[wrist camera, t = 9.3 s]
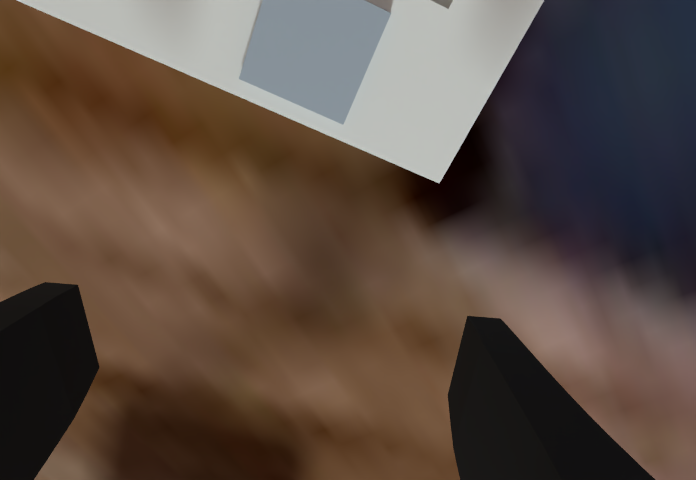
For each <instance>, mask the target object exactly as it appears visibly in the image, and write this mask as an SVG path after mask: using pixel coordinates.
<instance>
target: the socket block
mask: <svg viewBox="0 0 696 480" xmlns="http://www.w3.org/2000/svg"><path fill="white" fill-rule="evenodd" d="M17 1H19V2H22V3H24V4H26V5H29V6H31V7H33V8H36V9H38V10H40V11H42V12H45V13H47V14H49V15H52V16H54V17H56V18H59V19H61V20H63V21H66V22H68V23H70V24H72V25H75V26H77V27H79V28H82V29H84V30H86V31H89V32H91V33H93V34H96V35H98V36H100V37H102V38H105V39H107V40H109V41H112V42H114V43H116V44H119V45H121V46H123V47H126V48H128V49H130V50H132V51H135V52H137V53H139V54H142V55H144V56H146V57H149V58H151V59H153V60H156V61H158V62H160V63H162V64H165V65H167V66H169V67H172V68H174V69H176V70H179V71H181V72H183V73H186V74H188V75H190V76H192V77H195V78H197V79H199V80H202V81H204V82H206V83H209V84H211V85H213V86H216V87H218V88H220V89H222V90H225V91H227V92H229V93H232V94H234V95H236V96H239V97H241V98H243V99H246V100H248V101H250V102H253V103H255V104H257V105H259V106H262V107H264V108H266V109H269V110H271V111H273V112H276V113H278V114H280V115H283V116H285V117H287V118H289V119H292V120H294V121H296V122H299V123H301V124H303V125H306V126H308V127H310V128H313V129H315V130H317V131H319V132H322V133H324V134H326V135H329V136H331V137H333V138H336V139H338V140H340V141H343V142H345V143H347V144H349V145H352V146H354V147H356V148H359V149H361V150H363V151H366V152H368V153H370V154H373V155H375V156H377V157H379V158H382V159H384V160H386V161H389V162H391V163H393V164H396V165H398V166H400V167H403V168H405V169H407V170H409V171H412V172H414V173H416V174H419V175H421V176H423V177H426V178H428V179H430V180H433V181H435V182H437V183H440V181H441V180H442V178H443V176H444V174H445V173H446V171H447V169H448V167H449V166H450V164H451V162H452V160H453V159H454V157H455V155H456V153H457V152H458V150H459V148H460V146H461V145H462V143H463V141H464V139H465V138H466V136H467V134H468V132H469V131H470V129H471V127H472V125H473V124H474V122H475V120H476V118H477V117H478V115H479V113H480V111H481V110H482V108H483V106H484V104H485V103H486V101H487V99H488V97H489V96H490V94H491V92H492V90H493V89H494V87H495V85H496V83H497V82H498V80H499V78H500V76H501V75H502V73H503V71H504V69H505V68H506V66H507V64H508V63H509V61H510V59H511V57H512V56H513V54H514V52H515V50H516V49H517V47H518V45H519V43H520V42H521V40H522V38H523V36H524V35H525V33H526V31H527V29H528V28H529V26H530V24H531V22H532V21H533V19H534V17H535V15H536V14H537V12H538V10H539V8H540V7H541V5H542V3H543V1H544V0H17Z"/></svg>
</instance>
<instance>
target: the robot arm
mask: <svg viewBox="0 0 696 480" xmlns="http://www.w3.org/2000/svg"><path fill="white" fill-rule="evenodd" d="M98 369H99V364H98V360H97V356H96V352H95V349H94V345H93V341H92V337H91V333H90V329H89V326H88V322H87V318H86V314H85V310H84V306H83V303H82V299H81V295H80V291H79V287H78V285H72V284H60V283H47V282H45V283H42V284H40V285H37V286H35V287H32V288H30V289H28V290H25V291H23V292H21V293H19V294H17V295H15V296H12V297H10V298H8V299H6V300H4V301H2V302H0V480H34V478H35V477H36V475H37V474H38V472H39V471H40V470H41V468H42V467H43V465H44V464H45V462H46V461H47V459H48V458H49V456H50V454H51V453H52V451H53V450H54V448H55V447H56V445H57V444H58V442H59V441H60V439H61V438H62V436H63V435H64V433H65V432H66V430H67V429H68V427H69V425H70V424H71V422H72V421H73V419H74V418H75V416H76V414H77V412H78V410H79V408H80V406H81V404H82V402H83V400H84V398H85V396H86V394H87V392H88V390H89V388H90V386H91V384H92V382H93V380H94V377H95V375H96V373H97V371H98ZM448 401H449V412H450V422H451V431H452V440H453V448H454V453H455V457H456V462H457V467H458V471H459V476H460V480H655V479H654V478H653V477H652V476H651V475H650V474H649V473H648V472H646V471H645V470H644V469H643V468H642V467H641V466H640V465H639V464H638V463H637V462H636V461H635V460H634V459H633V458H632V457H631V456H630V455H629V454H628V453H627V452H626V451H625V450H624V449H623V448H621V447H620V446H619V445H618V444H617V443H616V442H615V441H614V440H613V439H612V438H611V437H610V436H609V435H608V434H607V433H606V432H605V431H604V430H603V429H602V428H601V427H600V426H599V425H598V424H597V423H596V422H595V421H594V420H593V419H592V418H591V417H590V416H589V415H588V414H587V413H586V412H585V411H584V410H583V409H582V407H581V406H580V405H579V404H578V403H577V402H576V401H575V400H574V399H573V398H572V397H571V396H570V395H569V394H568V393H567V392H566V391H565V389H564V388H563V387H562V386H561V385H560V384H559V383H558V382H557V381H556V380H555V379H554V378H553V376H552V375H551V374H550V373H549V372H548V371H547V370H546V369H545V368H544V366H543V365H542V364H541V363H540V362H539V361H538V360H537V359H536V358H535V356H534V355H533V354H532V353H531V352H530V351H529V350H528V349H527V347H526V346H525V345H524V344H523V343H522V342H521V341H520V340H519V338H518V337H517V336H516V335H515V334H514V333H513V332H512V331H511V330H510V328H509V327H508V326H507V325H506V324H505V323H504V322H503V321H502V320H501V319H499V318H486V317H474V316H467V319H466V324H465V328H464V332H463V336H462V340H461V344H460V348H459V352H458V356H457V360H456V364H455V368H454V372H453V376H452V380H451V384H450V388H449V392H448Z"/></svg>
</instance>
